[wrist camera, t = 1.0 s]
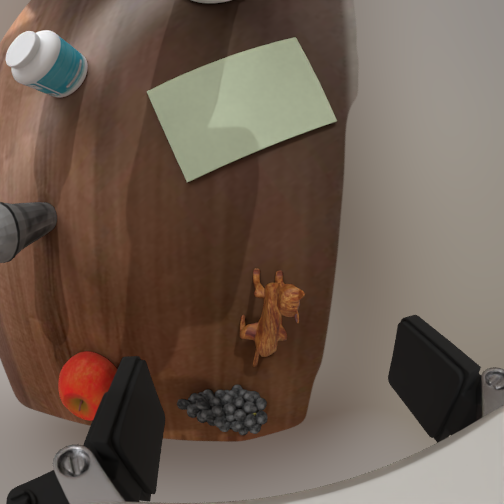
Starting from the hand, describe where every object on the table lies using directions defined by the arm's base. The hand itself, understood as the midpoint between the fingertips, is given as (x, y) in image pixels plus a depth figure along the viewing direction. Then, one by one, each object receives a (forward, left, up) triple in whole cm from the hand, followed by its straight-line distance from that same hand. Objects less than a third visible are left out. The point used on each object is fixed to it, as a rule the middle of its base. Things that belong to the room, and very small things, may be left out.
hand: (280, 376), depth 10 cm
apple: (+12, -32, -31) cm, 46 cm away
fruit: (+25, -14, -31) cm, 42 cm away
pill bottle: (-32, -13, -31) cm, 46 cm away
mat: (-15, +8, -31) cm, 35 cm away
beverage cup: (-14, -25, -31) cm, 42 cm away
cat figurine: (+14, -2, -31) cm, 34 cm away
